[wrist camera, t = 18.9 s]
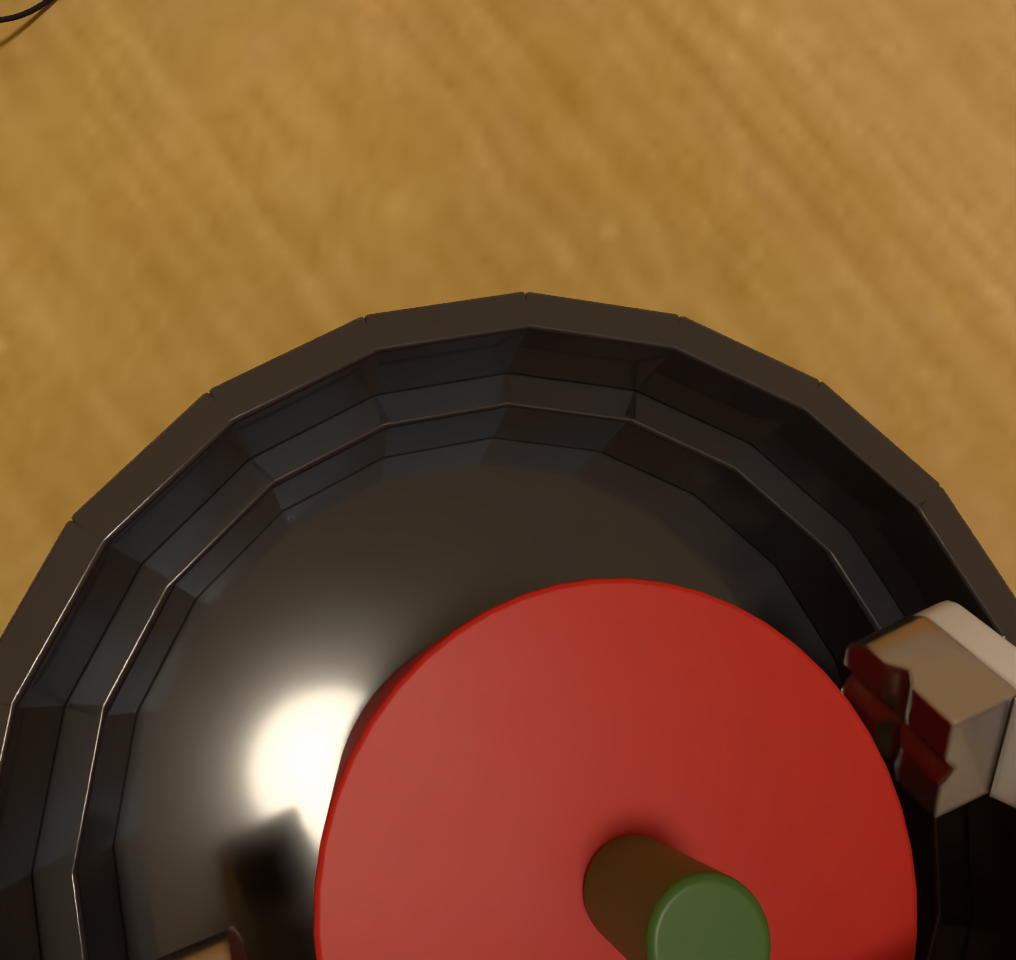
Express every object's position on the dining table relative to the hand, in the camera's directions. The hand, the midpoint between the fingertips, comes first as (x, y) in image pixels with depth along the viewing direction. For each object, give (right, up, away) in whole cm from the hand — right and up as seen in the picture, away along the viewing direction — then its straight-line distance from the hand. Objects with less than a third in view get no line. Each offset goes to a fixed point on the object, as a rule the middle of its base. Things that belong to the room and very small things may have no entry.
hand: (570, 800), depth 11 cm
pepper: (-1, -2, +4) cm, 5 cm away
